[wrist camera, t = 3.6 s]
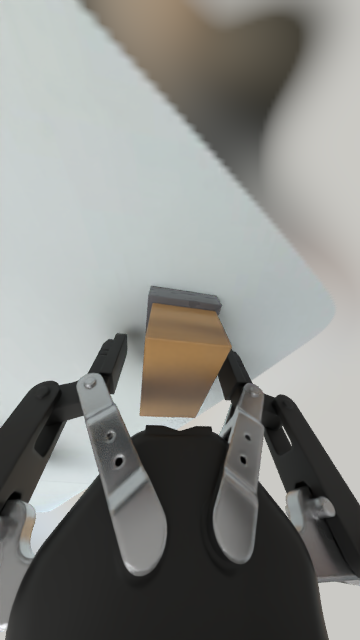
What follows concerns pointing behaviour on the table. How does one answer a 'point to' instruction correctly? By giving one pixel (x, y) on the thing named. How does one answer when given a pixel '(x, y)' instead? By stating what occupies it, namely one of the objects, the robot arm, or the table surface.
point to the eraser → (181, 352)
